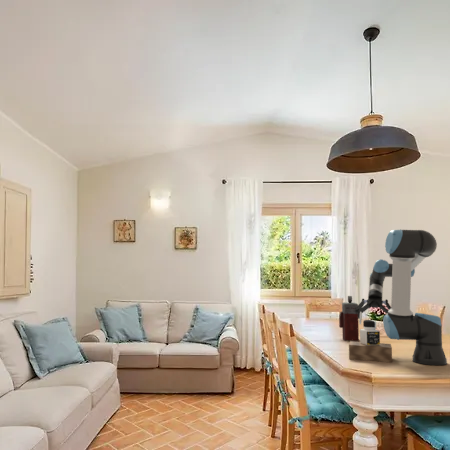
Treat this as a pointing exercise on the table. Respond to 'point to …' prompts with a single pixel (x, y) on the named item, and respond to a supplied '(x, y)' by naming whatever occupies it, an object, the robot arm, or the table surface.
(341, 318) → the dark red tall piece
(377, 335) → the medicine bottle
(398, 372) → the table surface
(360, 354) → the walnut box
